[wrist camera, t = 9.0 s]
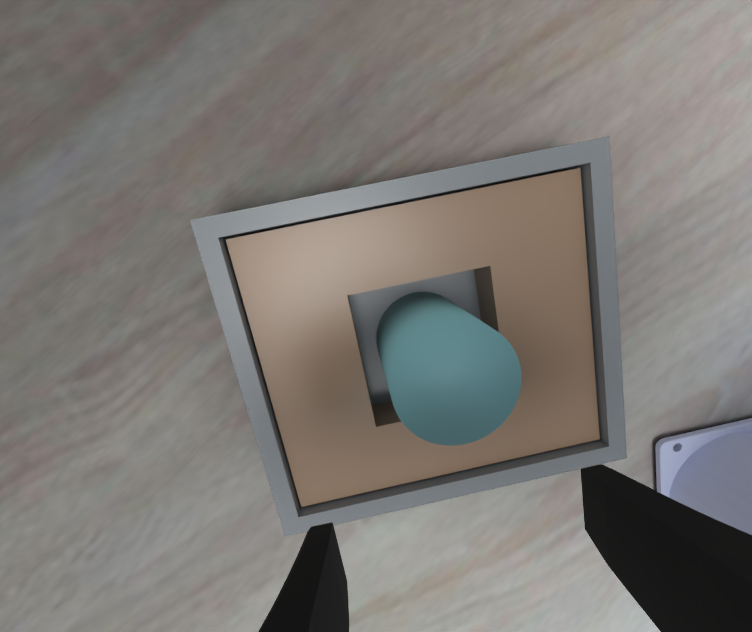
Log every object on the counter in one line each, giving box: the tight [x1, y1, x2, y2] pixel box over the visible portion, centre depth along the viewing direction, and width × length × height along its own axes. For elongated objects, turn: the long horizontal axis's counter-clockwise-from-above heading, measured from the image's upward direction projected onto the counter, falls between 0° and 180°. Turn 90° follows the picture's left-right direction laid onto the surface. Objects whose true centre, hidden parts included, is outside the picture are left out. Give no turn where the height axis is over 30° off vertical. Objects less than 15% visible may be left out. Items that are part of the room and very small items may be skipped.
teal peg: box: [376, 292, 522, 446], centre depth 16 cm, size 4×4×6 cm
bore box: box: [190, 136, 627, 536], centre depth 17 cm, size 16×14×4 cm
